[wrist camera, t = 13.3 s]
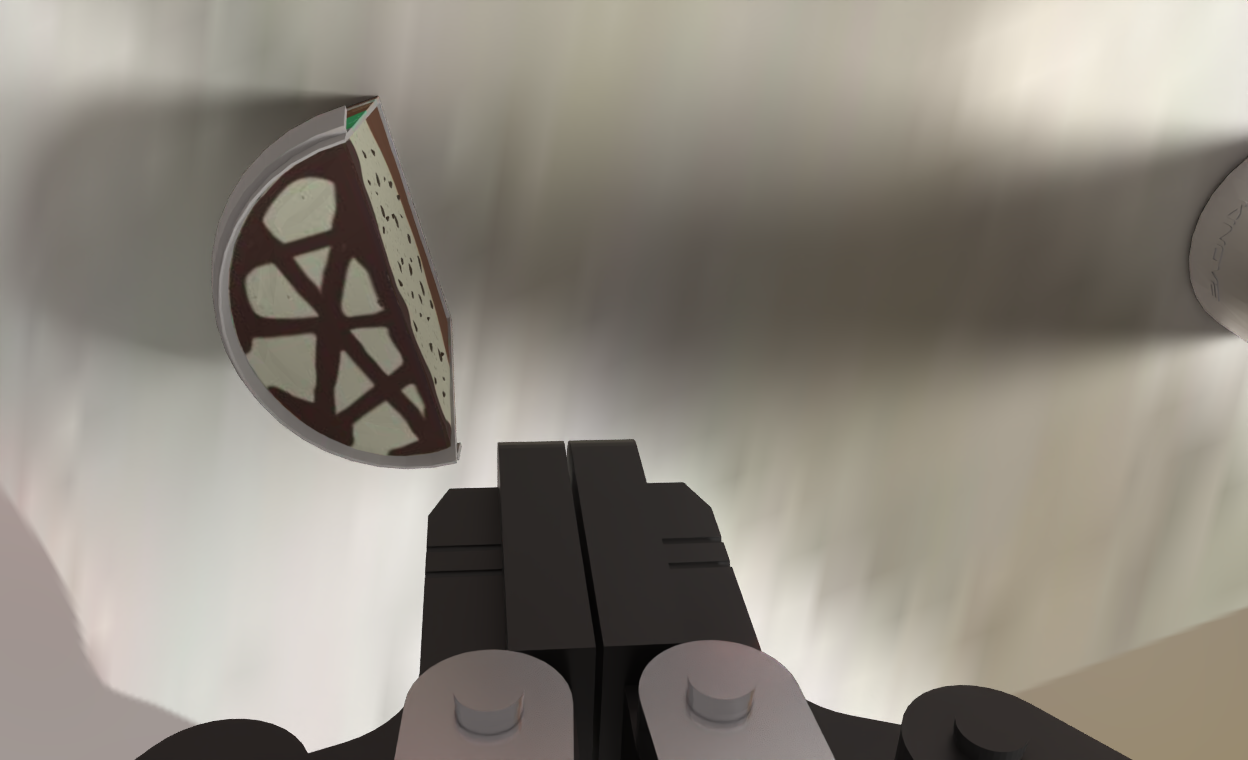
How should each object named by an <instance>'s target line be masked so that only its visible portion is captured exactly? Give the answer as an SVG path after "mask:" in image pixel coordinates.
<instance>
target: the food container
mask: <svg viewBox="0 0 1248 760" xmlns="http://www.w3.org/2000/svg"><path fill="white" fill-rule="evenodd" d="M212 294H213V302H214V309H215V315H216V322H217V326H218V329H219V332H220V335H221V338H222V341H223V345H224V348H225V351H226V353H227V355H228V356H229V358H230V360H231V362H232V364H233V366H234V368H235V370H236V372H237V374H238V375H239V377H240V378H241V380H242V381H243V382H244V384H245V385H246V386H247V388H248V389H249V390H250V392H251V393H252V394H253V396H254V397H255V398H256V399H257V400H258V401H259V403H260V404H261V405H262V406H263V407H264V408H265V409H266V410H267V411H268V412H269V413H270V414H271V415H272V416H273V417H274V418H275V419H276V420H277V421H279V422H280V423H281V424H282V425H284V426H285V427H286V428H288V429H289V430H290V431H292V432H293V433H295V434H296V435H297V436H299V437H300V438H302V439H303V440H305V441H307V442H309V443H311V444H313V445H315V446H316V447H318V448H320V449H322V450H324V451H326V452H329V453H331V454H334V455H337V456H340V457H342V458H345V459H348V460H350V461H354V462H359V463H363V464H368V465H373V466H377V467H387V468H399V469H415V468H433V467H439V466H444V465H449V464H455V463H457V460H459V457H460V452H461V443H457V442H456V417H455V392H454V366H453V341H452V320H451V317H450V313H449V310H448V307H447V304H446V301H445V298H444V295H443V292H442V289H441V286H440V283H439V280H438V277H437V274H436V271H435V267H434V264H433V261H432V258H431V255H430V252H429V249H428V246H427V243H426V240H425V237H424V234H423V231H422V228H421V225H420V221H419V218H418V215H417V212H416V209H415V206H414V203H413V200H412V197H411V194H410V191H409V188H408V185H407V182H406V179H405V176H404V172H403V169H402V166H401V163H400V160H399V157H398V154H397V151H396V148H395V145H394V142H393V139H392V136H391V133H390V130H389V126H388V123H387V120H386V117H385V114H384V111H383V108H382V105H381V102H380V99H379V96H377V97H374V98H371V99H369V100H366V101H363V102H360V103H357V104H355V105H352V106H349V107H348V108H346V106H342V107H339V108H337V109H334V110H331V111H328V112H325V113H323V114H320V115H317V116H315V117H313V118H311V119H310V120H308V121H306V122H304V123H302V124H300V125H299V126H297V127H295V128H293V129H291V130H289V131H288V132H287V133H285V134H284V135H283V136H282V137H280V138H279V139H278V140H277V141H275V142H274V143H273V144H271V145H270V146H269V147H268V148H266V149H265V150H264V151H263V152H262V153H261V154H260V156H259V157H258V158H257V159H256V160H255V161H254V162H253V163H252V164H251V166H250V167H249V168H248V169H247V170H246V171H245V172H244V174H243V175H242V177H241V179H240V180H239V182H238V183H237V185H236V187H235V188H234V190H233V192H232V193H231V195H230V196H229V198H228V201H227V203H226V206H225V208H224V211H223V213H222V216H221V218H220V221H219V223H218V227H217V232H216V237H215V242H214V247H213V252H212Z"/></svg>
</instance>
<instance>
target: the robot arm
mask: <svg viewBox="0 0 1248 760" xmlns="http://www.w3.org/2000/svg"><path fill="white" fill-rule="evenodd" d="M1189 268H1190V280H1191V283H1192V286H1193V289H1194V293H1195V296H1196V298H1197V299H1198V301H1199V302H1200V304H1201V305H1202V307H1203V309H1204V310H1205V311H1206V312H1207V313H1208V314H1209V315H1210V316H1211V317H1212V318H1213V319H1215V320H1216V321H1217V322H1218V323H1219V324H1221V325H1222V326H1224V327H1225V328H1227V329H1228V330H1230V331H1231V332H1233V333H1234V334H1236V335H1237V336H1238V337H1240V338H1241V339H1243V340H1244V341H1246V342H1247V343H1248V158H1247V159H1246V160H1245V161H1244V162H1242V163H1241V164H1240V165H1239V166H1238V167H1237V168H1236V169H1234V170H1233V171H1232V172H1231V173H1230V174H1229V175H1228V176H1227V177H1226V179H1225V180H1224V181H1223V182H1222V183H1221V185H1220V186H1219V187H1218V188H1217V189H1216V191H1215V192H1214V193H1213V194H1212V196H1211V198H1210V200H1209V201H1208V203H1207V205H1206V206H1205V208H1204V210H1203V211H1202V213H1201V215H1200V218H1199V220H1198V223H1197V226H1196V228H1195V231H1194V234H1193V237H1192V243H1191V249H1190V255H1189ZM497 469H498V487H495V488H456V489H449V490H448V491H447V493H446V494H445V495H444V496H443V498H442V499H441V500H440V501H439V503H438V504H437V505H436V507H435V508H434V509H433V510H432V512H431V513H430V514H429V515H428V530H427V552H426V567H425V585H424V604H423V622H422V640H421V659H420V674H419V678H418V679H417V680H416V681H415V682H414V684H413V685H412V687H411V688H410V690H409V692H408V694H407V697H406V700H405V703H404V707H403V708H402V709H401V710H400V712H399V713H397V714H396V715H395V716H394V717H393V718H391V719H390V720H389V721H388V722H386V723H385V724H383V725H382V726H380V727H378V728H377V729H375V730H374V731H371V732H369V733H367V734H365V735H363V736H361V737H359V738H356V739H353V740H350V741H347V742H345V743H341V744H338V745H335V746H331V747H328V748H325V749H321V750H318V751H315V752H311V753H307V751H306V749H305V747H304V746H303V744H302V743H301V742H300V741H299V740H298V739H297V738H296V737H295V736H294V735H293V734H291V733H290V732H288V731H287V730H285V729H283V728H281V727H279V726H276V725H274V724H271V723H267V722H263V721H259V720H250V719H226V720H219V721H212V722H208V723H204V724H200V725H196V726H193V727H190V728H188V729H185V730H182V731H180V732H178V733H176V734H174V735H172V736H170V737H168V738H166V739H164V740H163V741H161V742H160V743H158V744H156V745H155V746H153V747H152V748H150V749H149V750H148V751H146V752H145V753H144V754H142V755H141V756H139V757H138V758H137V759H135V760H1132V759H1130V758H1128V757H1126V756H1124V755H1122V754H1121V753H1119V752H1117V751H1115V750H1113V749H1112V748H1110V747H1108V746H1106V745H1104V744H1102V743H1101V742H1099V741H1097V740H1095V739H1093V738H1092V737H1090V736H1088V735H1086V734H1084V733H1083V732H1081V731H1079V730H1077V729H1075V728H1073V727H1072V726H1070V725H1068V724H1066V723H1064V722H1063V721H1061V720H1059V719H1057V718H1055V717H1053V716H1052V715H1050V714H1048V713H1046V712H1044V711H1043V710H1041V709H1039V708H1037V707H1035V706H1033V705H1032V704H1030V703H1028V702H1026V701H1024V700H1021V699H1020V698H1018V697H1015V696H1013V695H1010V694H1007V693H1004V692H1002V691H998V690H994V689H990V688H985V687H979V686H969V685H955V686H945V687H941V688H937V689H933V690H931V691H928V692H926V693H923V694H922V695H920V696H919V697H917V698H916V699H915V700H914V701H913V702H912V703H911V704H910V705H909V706H908V707H907V709H906V711H905V713H904V715H903V720H902V725H899V724H894V723H888V722H883V721H878V720H872V719H867V718H862V717H856V716H851V715H847V714H843V713H838V712H835V711H832V710H829V709H826V708H823V707H820V706H818V705H816V704H814V703H812V702H810V701H807V700H806V699H805V697H804V695H803V693H802V691H801V689H800V687H799V685H798V683H797V682H796V680H795V678H794V677H793V675H792V674H791V673H790V672H789V671H788V670H787V669H786V668H785V666H783V665H782V664H781V663H779V662H778V661H777V660H776V659H774V658H773V657H771V656H769V655H767V654H766V653H764V652H762V651H761V648H760V645H759V642H758V640H757V637H756V634H755V631H754V628H753V625H752V623H751V620H750V617H749V614H748V611H747V608H746V605H745V603H744V600H743V597H742V594H741V591H740V588H739V586H738V583H737V580H736V577H735V574H734V571H733V568H732V567H730V560H729V557H728V554H727V551H726V549H725V546H724V543H723V542H721V534H720V531H719V529H718V526H717V523H716V520H715V517H714V514H713V511H712V509H711V507H710V506H709V505H708V504H707V503H706V502H705V501H703V500H702V499H701V498H700V497H699V496H698V495H697V494H696V493H695V492H693V491H692V490H691V489H690V488H689V487H688V486H687V485H686V484H685V483H683V482H678V483H647V482H646V478H645V475H644V471H643V467H642V463H641V460H640V456H639V452H638V448H637V445H636V442H635V440H634V439H627V440H579V441H569V442H568V446H567V457H566V450H565V444H564V441H543V442H498V452H497Z"/></svg>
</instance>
